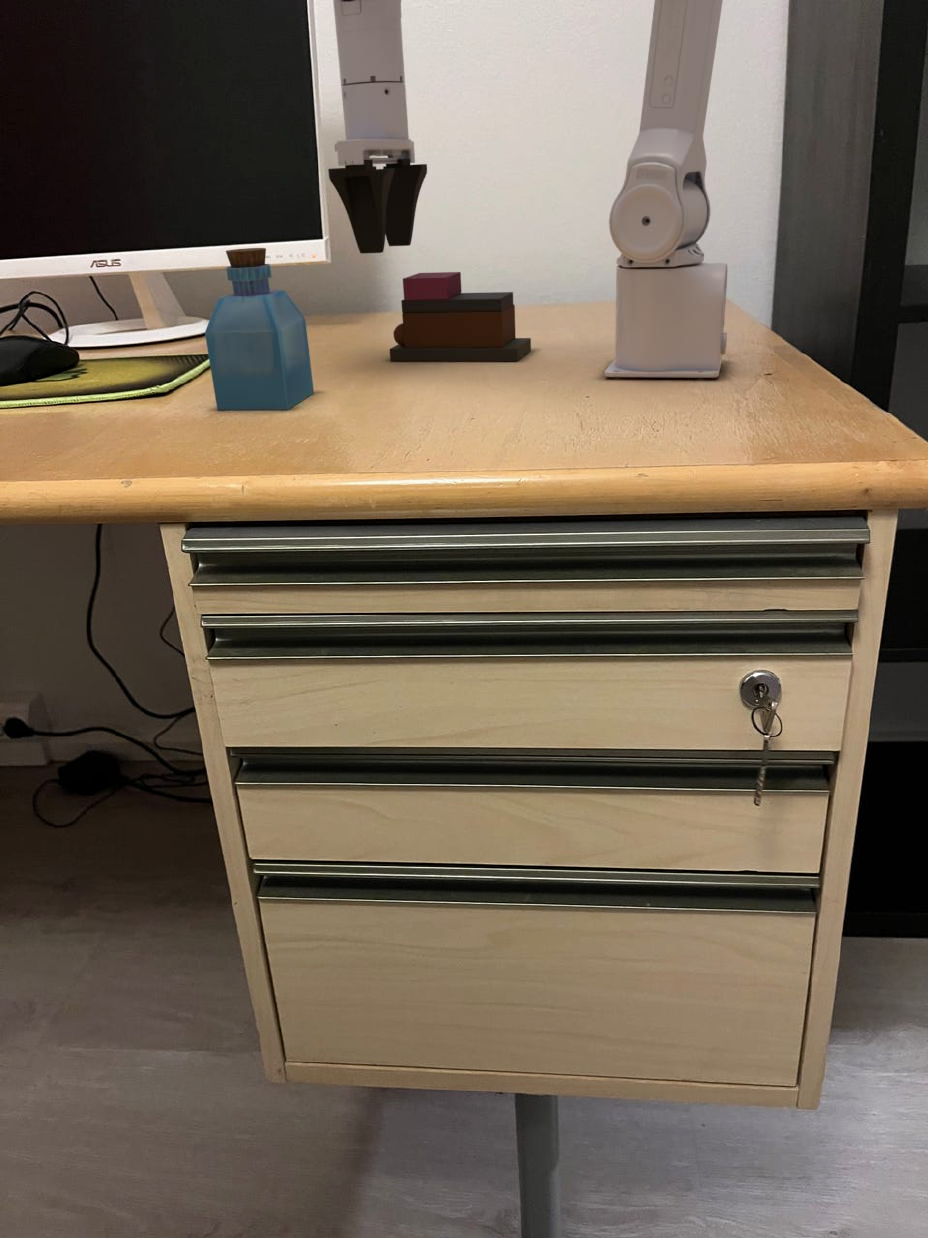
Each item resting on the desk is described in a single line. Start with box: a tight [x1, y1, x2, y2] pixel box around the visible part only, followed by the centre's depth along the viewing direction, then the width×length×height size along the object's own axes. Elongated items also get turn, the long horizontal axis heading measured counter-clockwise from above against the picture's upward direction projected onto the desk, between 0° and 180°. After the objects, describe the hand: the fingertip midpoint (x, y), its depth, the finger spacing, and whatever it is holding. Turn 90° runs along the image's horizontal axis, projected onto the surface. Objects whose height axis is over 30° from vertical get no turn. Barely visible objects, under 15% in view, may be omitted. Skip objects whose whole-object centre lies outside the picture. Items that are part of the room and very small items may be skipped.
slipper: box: [400, 271, 514, 313], centre depth 93 cm, size 10×5×3 cm, turn 74°
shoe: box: [389, 303, 532, 362], centre depth 95 cm, size 13×6×4 cm, turn 74°
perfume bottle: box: [204, 247, 315, 411], centre depth 78 cm, size 6×6×12 cm
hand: (386, 249), depth 90 cm, fingers open, 7 cm apart
